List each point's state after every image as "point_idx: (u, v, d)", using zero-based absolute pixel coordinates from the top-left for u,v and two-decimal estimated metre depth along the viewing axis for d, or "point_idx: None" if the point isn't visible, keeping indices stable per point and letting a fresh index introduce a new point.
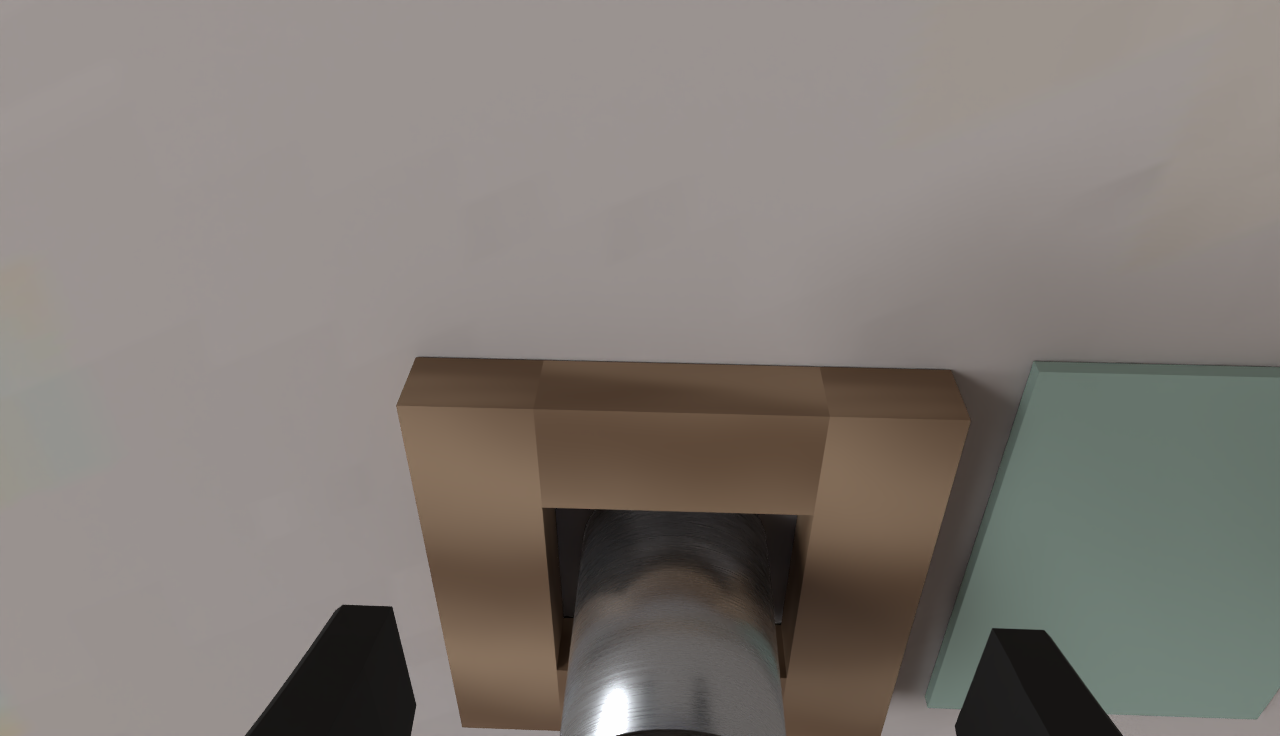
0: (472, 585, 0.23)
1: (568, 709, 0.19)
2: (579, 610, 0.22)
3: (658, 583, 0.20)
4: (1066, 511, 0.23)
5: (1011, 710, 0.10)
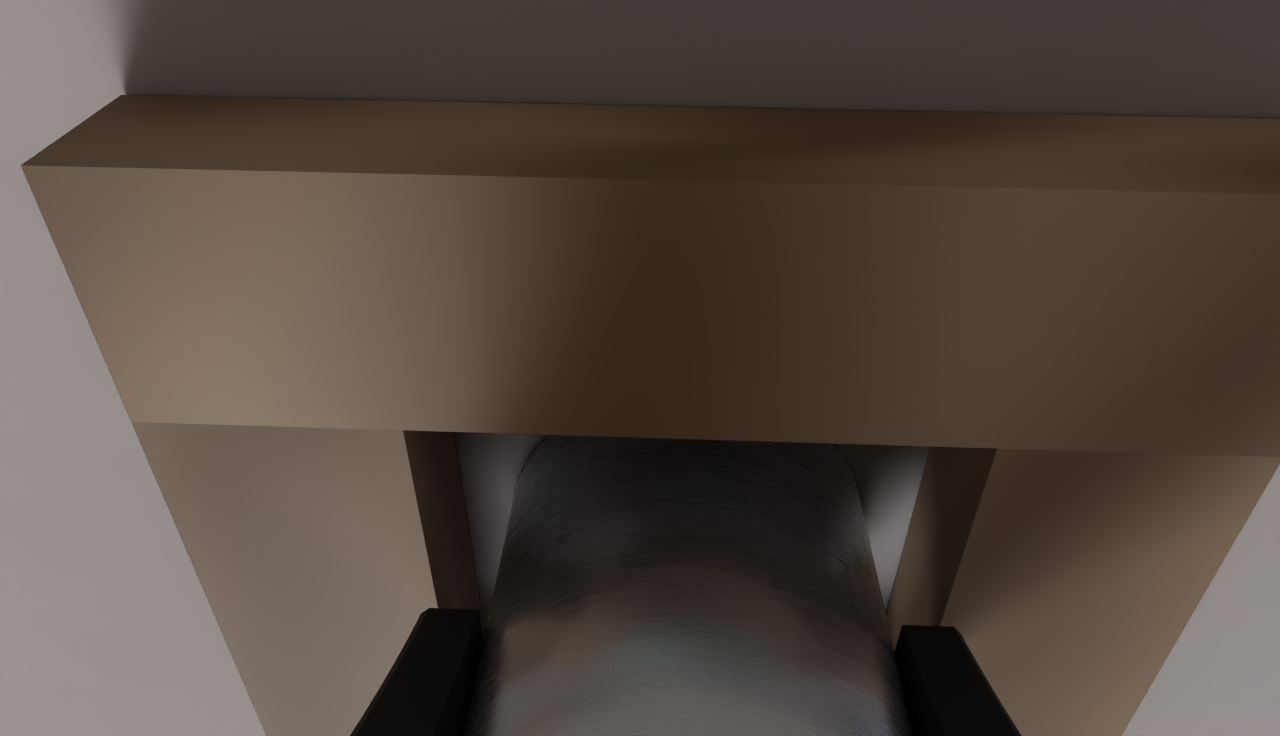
0: None
1: None
2: None
3: None
4: None
5: (915, 707, 0.10)
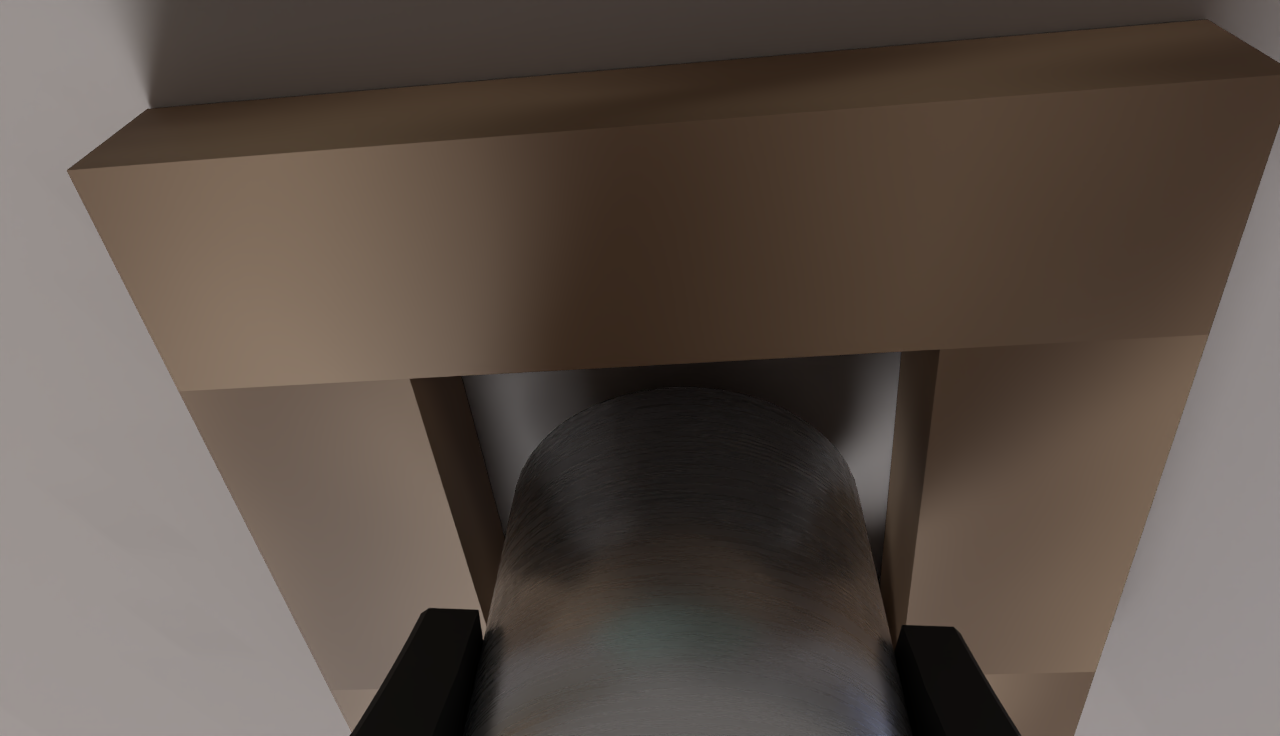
0: None
1: None
2: None
3: None
4: None
5: (915, 707, 0.10)
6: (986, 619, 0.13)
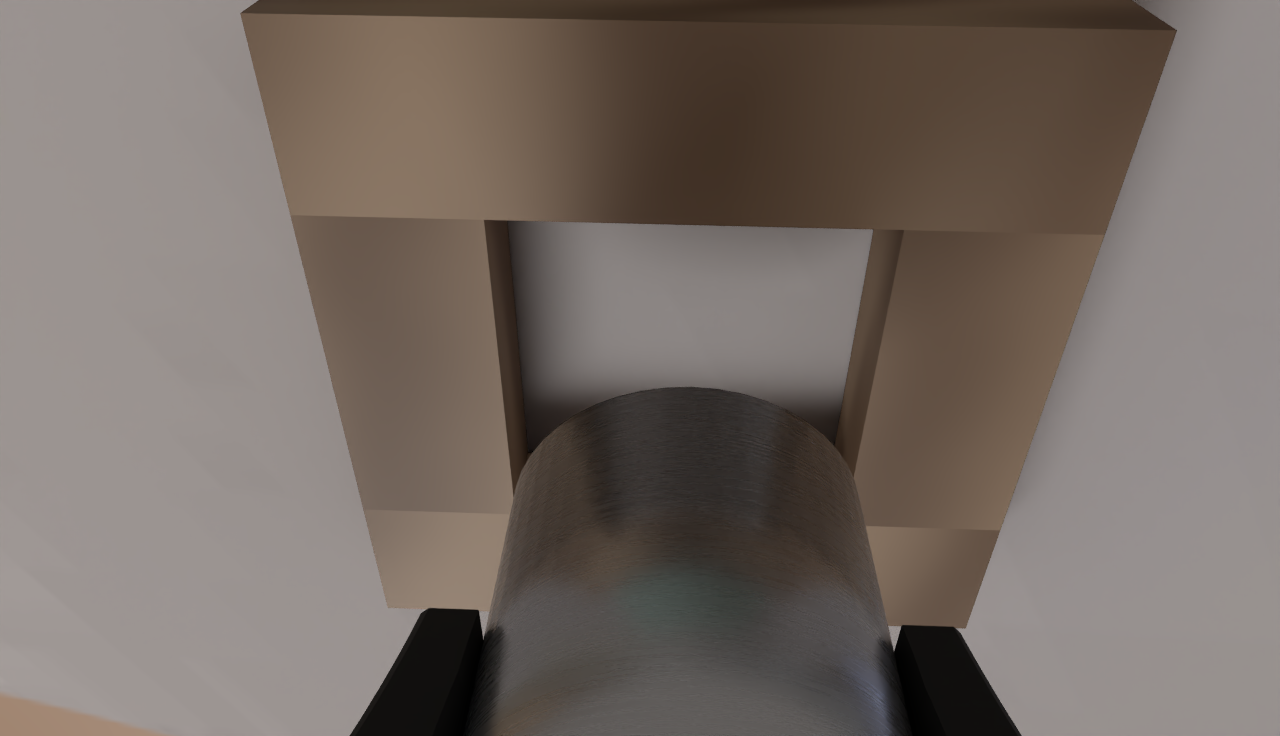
0: None
1: None
2: None
3: None
4: None
5: (915, 706, 0.10)
6: (918, 474, 0.17)
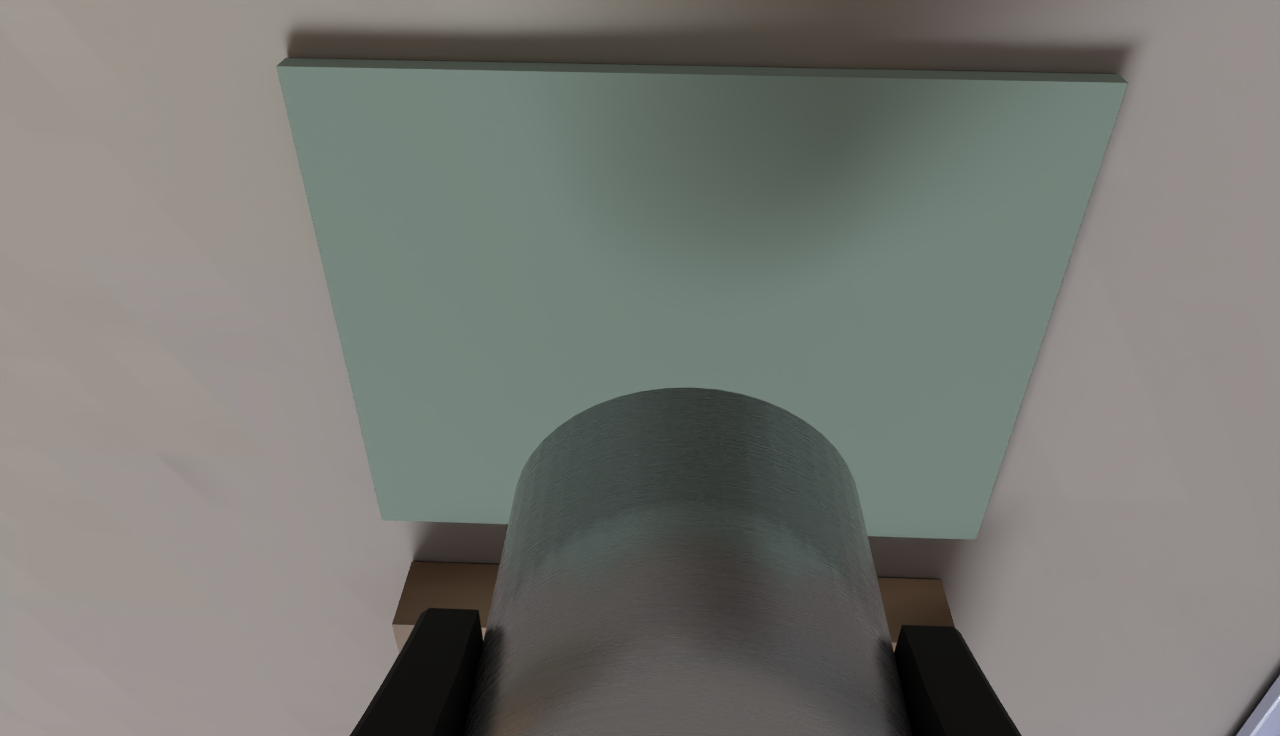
0: None
1: None
2: None
3: None
4: None
5: (915, 706, 0.10)
6: None
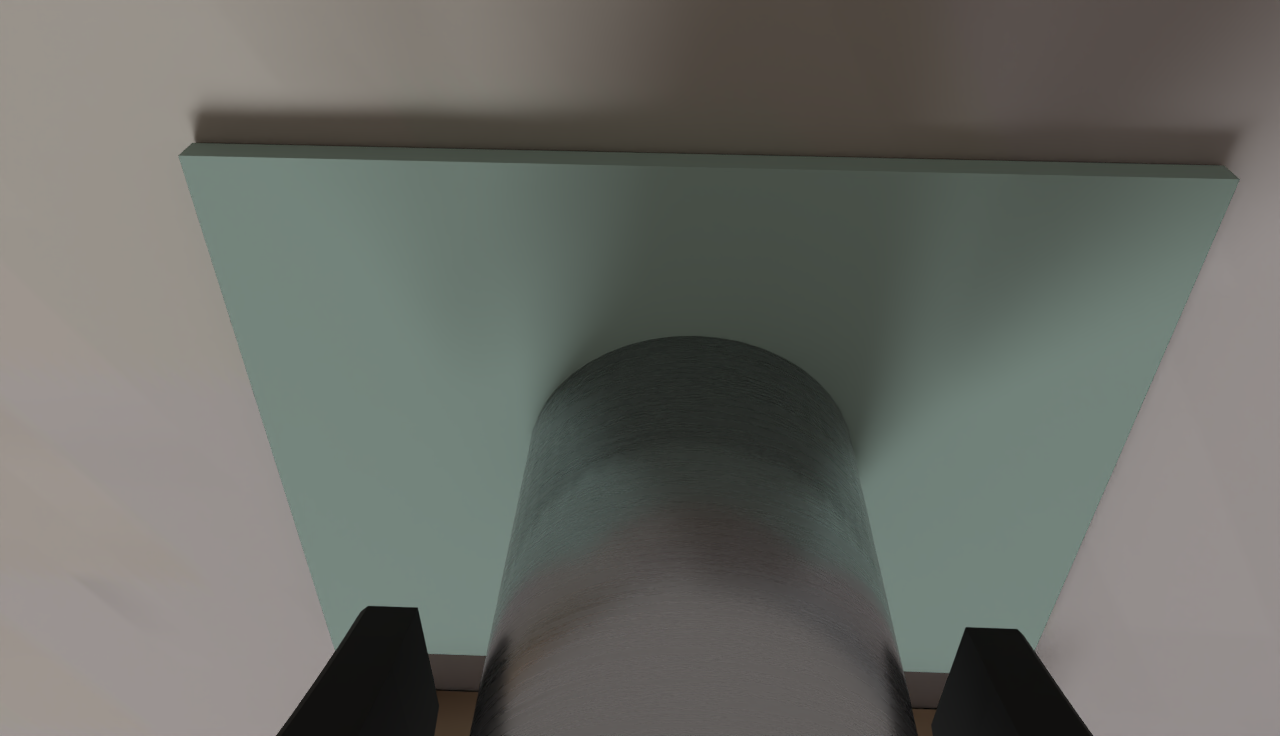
0: None
1: None
2: None
3: None
4: None
5: (983, 709, 0.10)
6: None
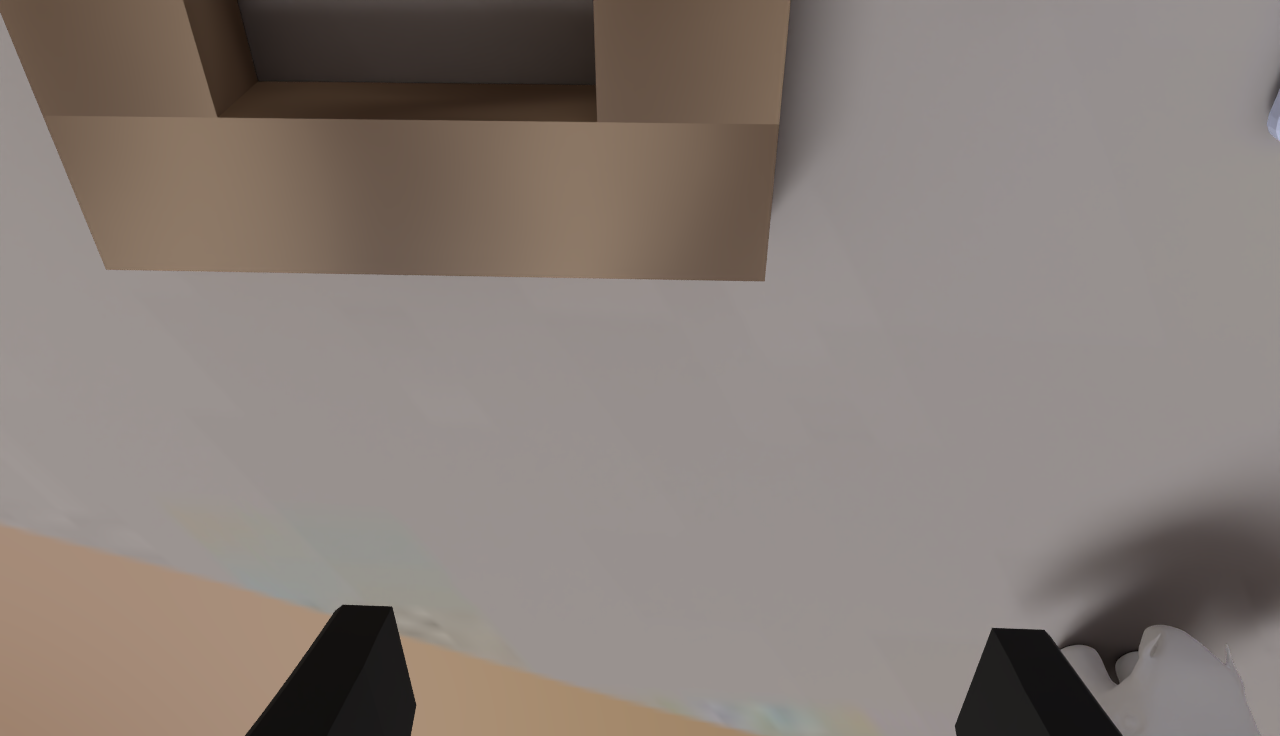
0: (406, 225, 0.16)
1: None
2: None
3: None
4: None
5: (1011, 710, 0.10)
6: (668, 37, 0.14)
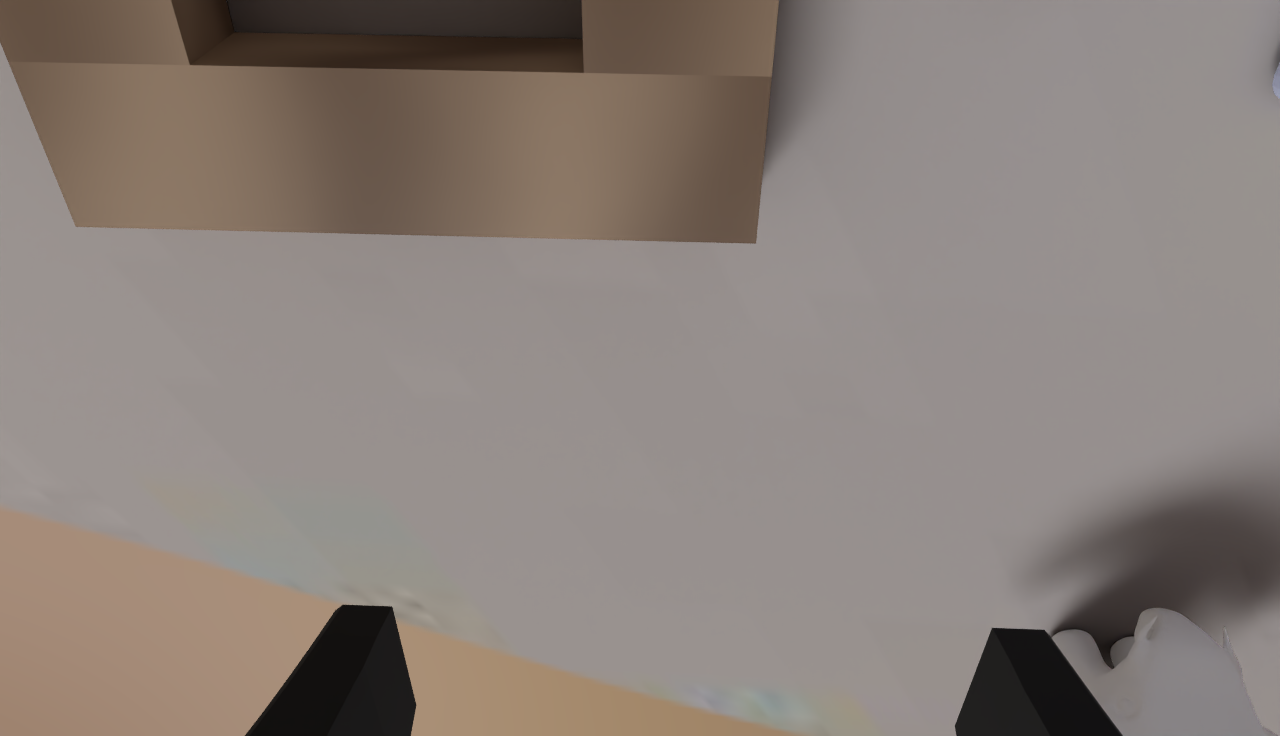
0: (386, 182, 0.16)
1: None
2: None
3: None
4: None
5: (1011, 710, 0.10)
6: None
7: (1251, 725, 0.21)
